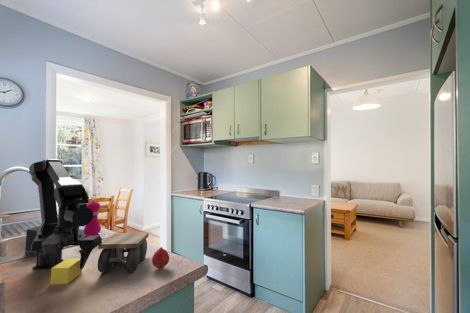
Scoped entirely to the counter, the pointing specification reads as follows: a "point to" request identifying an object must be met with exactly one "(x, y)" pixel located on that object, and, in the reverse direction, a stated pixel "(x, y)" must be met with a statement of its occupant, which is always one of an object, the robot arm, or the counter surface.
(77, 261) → the block
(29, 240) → the small box
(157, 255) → the onion
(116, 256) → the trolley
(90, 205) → the pepper mill
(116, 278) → the counter surface
